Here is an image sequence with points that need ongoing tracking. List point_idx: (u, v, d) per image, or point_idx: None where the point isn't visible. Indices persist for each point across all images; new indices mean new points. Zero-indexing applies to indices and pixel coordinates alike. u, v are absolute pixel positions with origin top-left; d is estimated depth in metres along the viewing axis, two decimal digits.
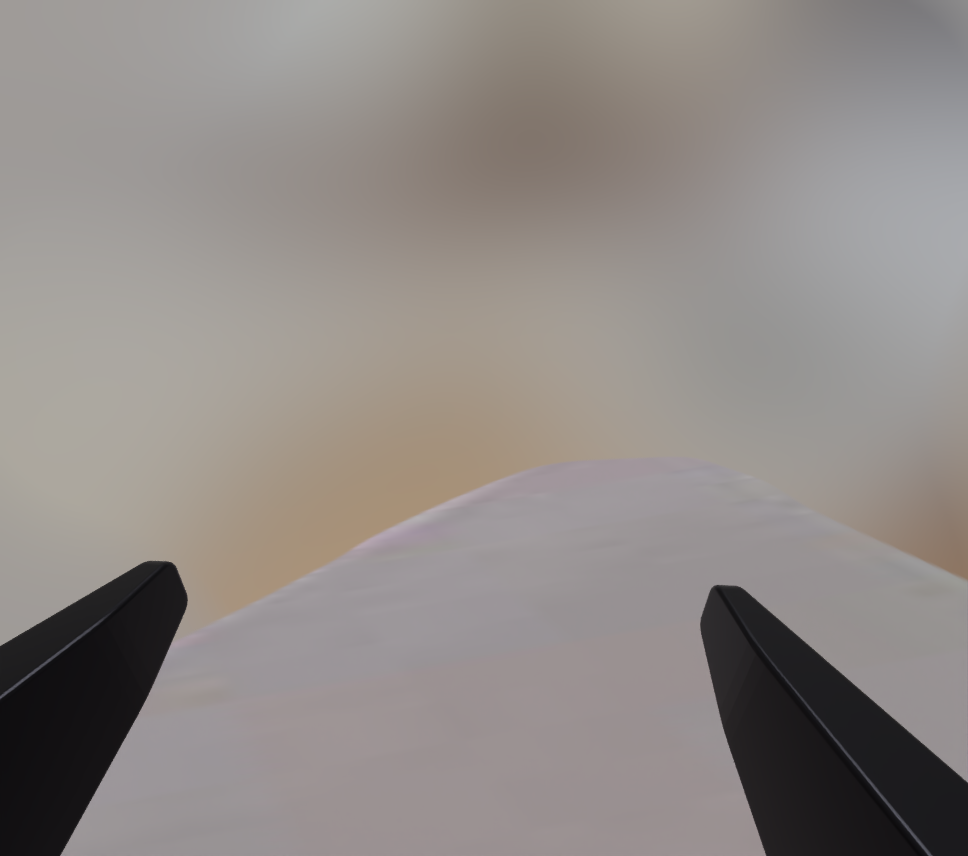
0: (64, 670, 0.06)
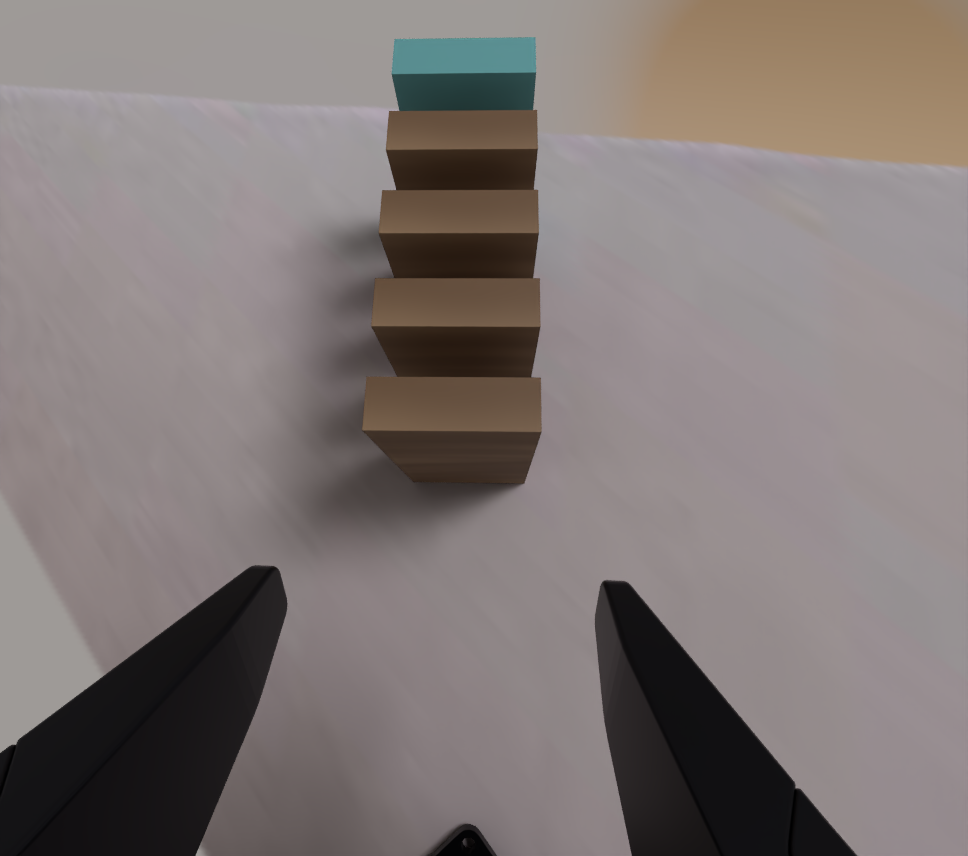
0: (200, 677, 0.06)
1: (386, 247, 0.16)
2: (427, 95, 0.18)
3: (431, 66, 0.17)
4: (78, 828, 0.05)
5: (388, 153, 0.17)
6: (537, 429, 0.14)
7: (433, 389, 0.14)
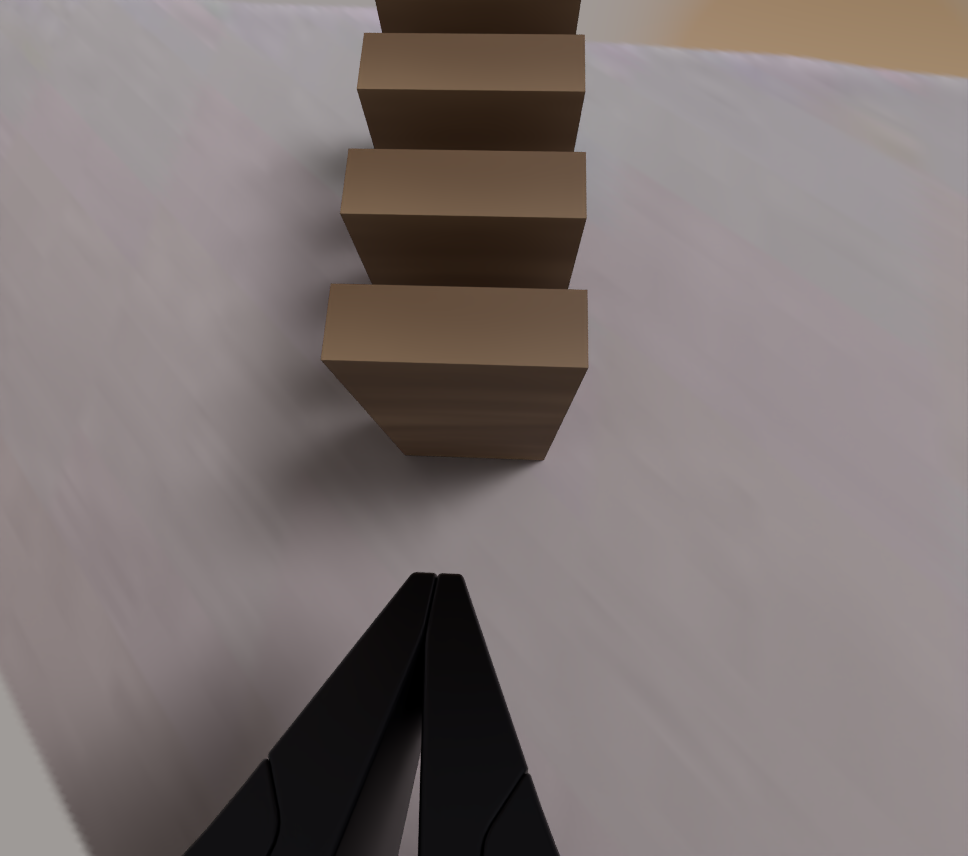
0: (408, 688, 0.06)
1: (369, 117, 0.12)
2: None
3: None
4: None
5: None
6: (582, 364, 0.09)
7: (428, 303, 0.10)
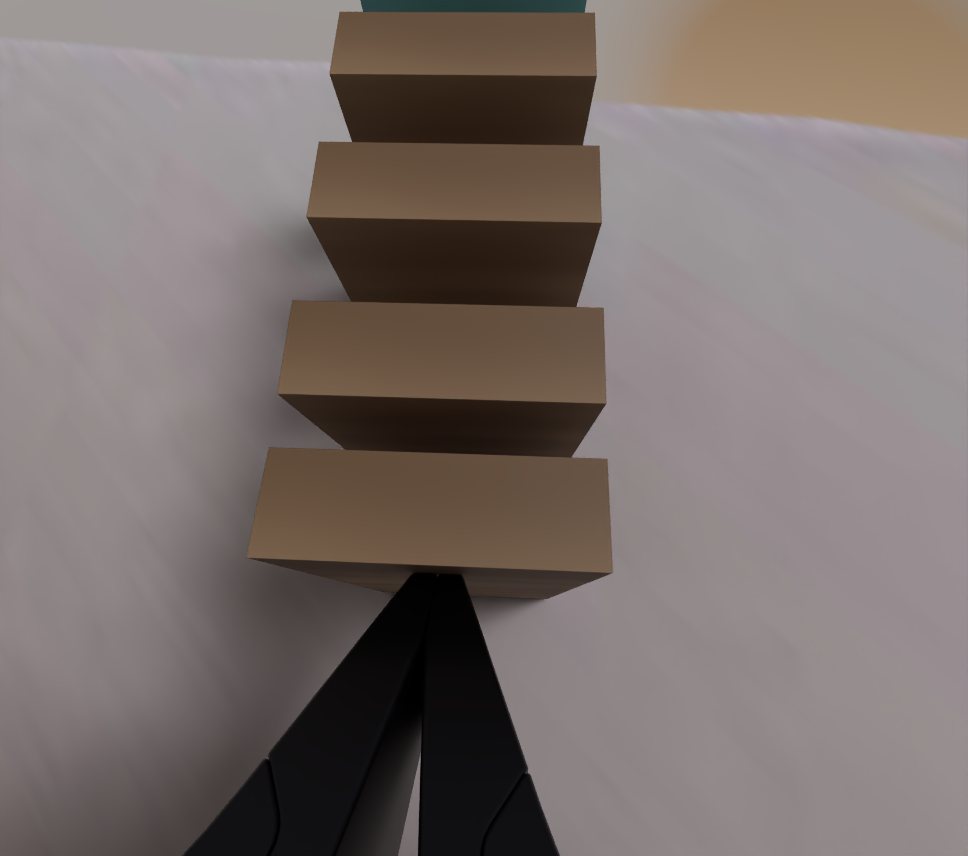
0: (408, 688, 0.06)
1: (325, 244, 0.09)
2: None
3: None
4: None
5: (335, 81, 0.10)
6: (603, 567, 0.07)
7: (396, 476, 0.07)
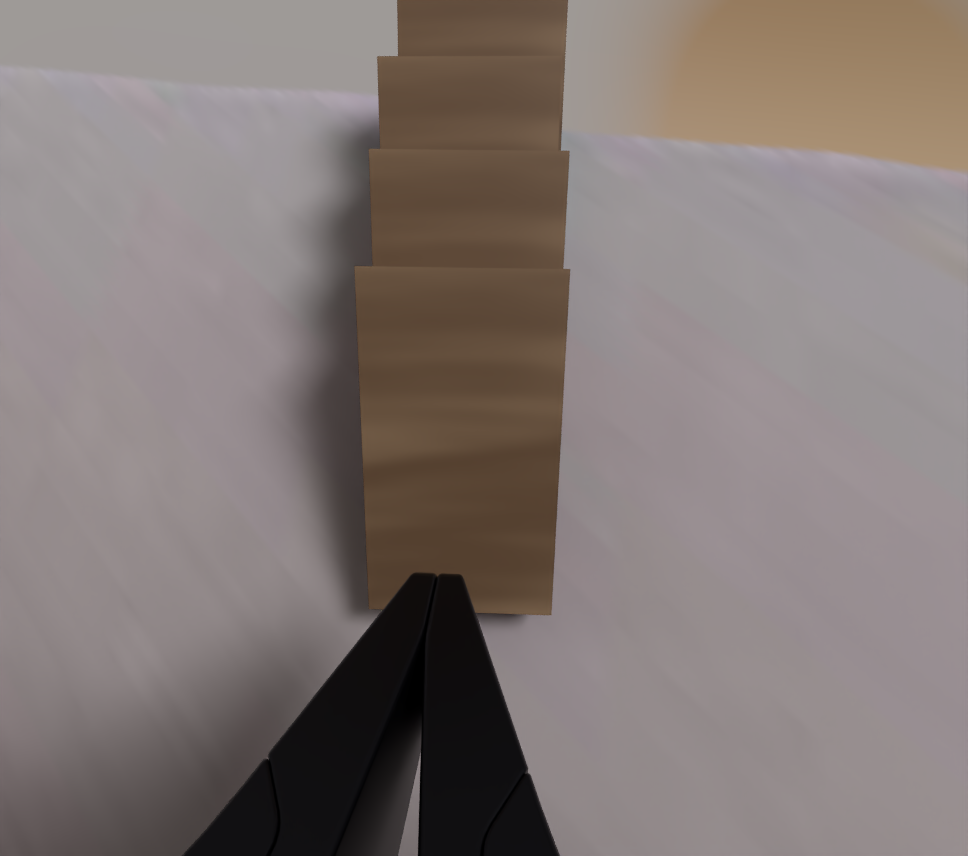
0: (408, 688, 0.06)
1: (381, 86, 0.14)
2: None
3: None
4: None
5: None
6: (564, 270, 0.12)
7: None
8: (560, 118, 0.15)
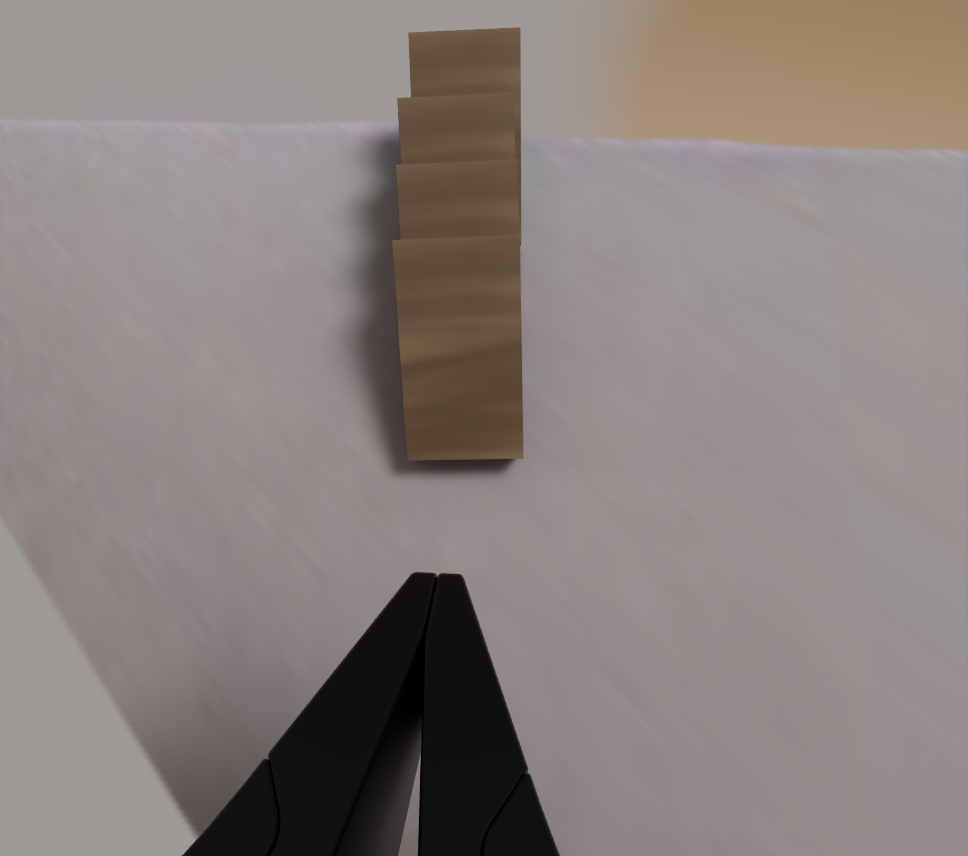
0: (409, 688, 0.06)
1: (400, 117, 0.22)
2: None
3: None
4: None
5: (409, 36, 0.22)
6: (516, 236, 0.19)
7: None
8: (519, 128, 0.23)
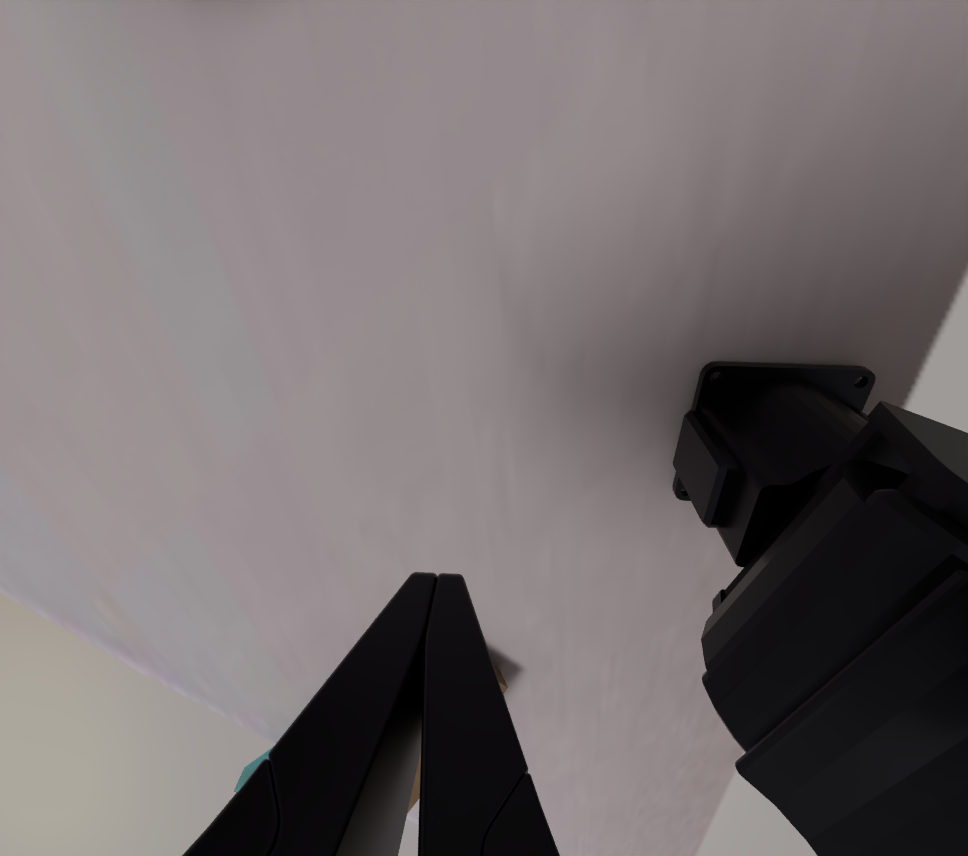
0: (408, 687, 0.06)
1: None
2: None
3: None
4: None
5: None
6: None
7: None
8: None
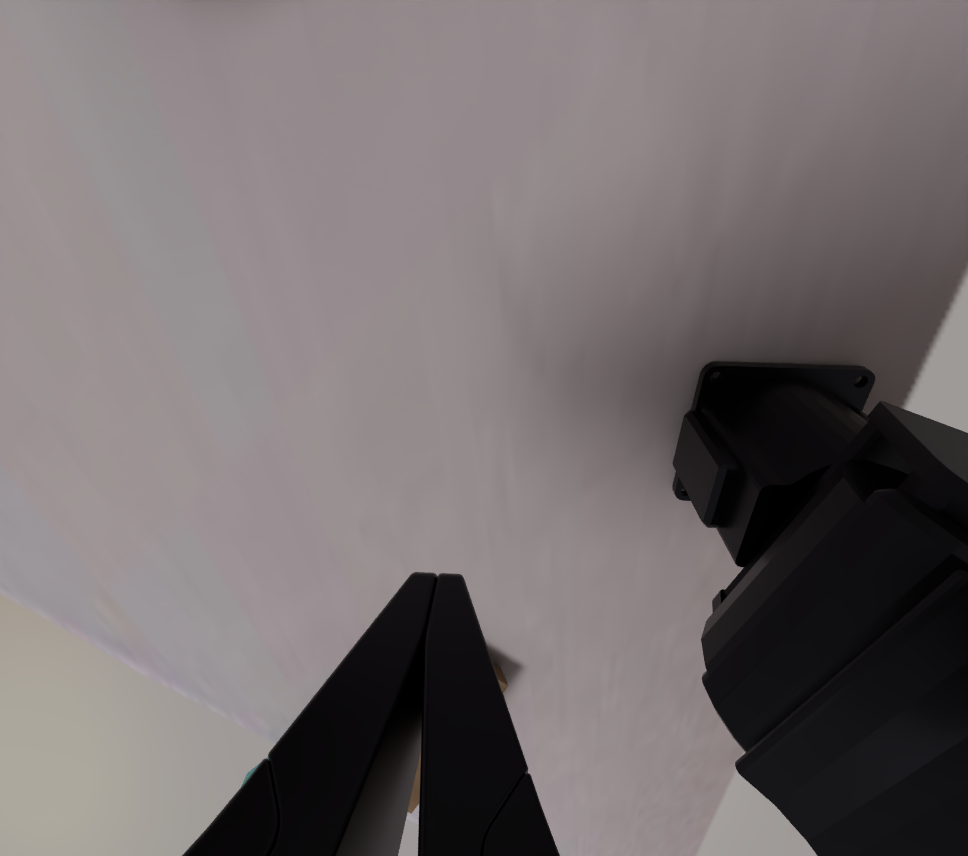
0: (408, 688, 0.06)
1: None
2: None
3: None
4: None
5: None
6: None
7: None
8: None
